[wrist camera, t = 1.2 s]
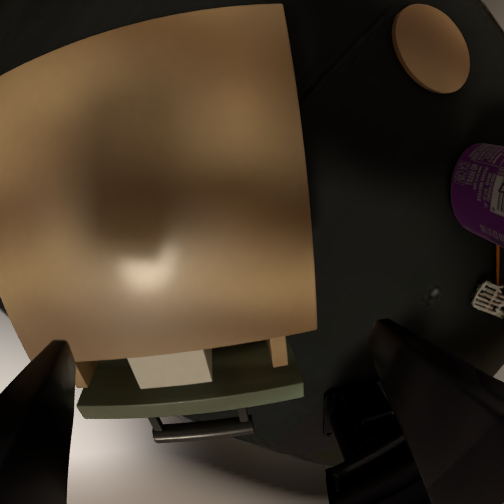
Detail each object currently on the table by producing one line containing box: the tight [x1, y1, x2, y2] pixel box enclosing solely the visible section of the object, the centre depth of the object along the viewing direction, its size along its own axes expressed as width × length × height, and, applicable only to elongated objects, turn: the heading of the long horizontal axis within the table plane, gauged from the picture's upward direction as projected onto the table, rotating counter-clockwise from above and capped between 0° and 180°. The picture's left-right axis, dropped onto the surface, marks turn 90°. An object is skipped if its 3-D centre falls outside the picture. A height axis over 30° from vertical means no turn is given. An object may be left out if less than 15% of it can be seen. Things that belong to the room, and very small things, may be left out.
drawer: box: [75, 336, 304, 443], centre depth 18 cm, size 17×13×6 cm
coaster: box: [392, 4, 470, 93], centre depth 16 cm, size 7×7×1 cm
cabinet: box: [0, 4, 317, 362], centre depth 15 cm, size 14×15×8 cm
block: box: [127, 348, 212, 389], centre depth 17 cm, size 4×4×4 cm
